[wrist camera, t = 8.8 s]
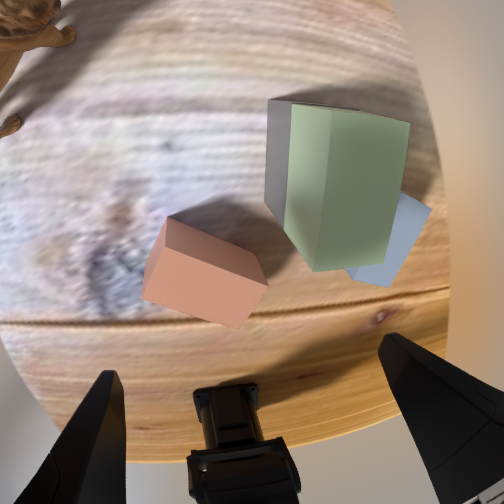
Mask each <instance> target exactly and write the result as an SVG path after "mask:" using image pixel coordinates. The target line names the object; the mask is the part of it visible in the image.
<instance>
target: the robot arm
mask: <svg viewBox="0 0 504 504" xmlns="http://www.w3.org/2000/svg"><path fill="white" fill-rule="evenodd" d="M378 356H379V359H380V362H381V364H382V367H383V370H384V372H385V375H386V378H387V381H388V384H389V386H390V389H391V391H392V393H393V395H394V398H395V400H396V402H397V404H398V406H399V408H400V410H401V412H402V415H403V417H404V419H405V421H406V423H407V425H408V427H409V430H410V432H411V434H412V437H413V439H414V441H415V444H416V446H417V448H418V450H419V453H420V455H421V458H422V460H423V462H424V465H425V467H426V469H427V472H428V473H429V474H428V475H429V477H430V480H431V482H432V484H433V487H434V489H435V492H436V495H437V497H438V500H439V503H440V504H463V503H464V502H466V501H468V500H470V499H472V498H473V497H475V496H477V498H476V499H475V500H474V501H473V502H471V503H470V504H504V392H503V391H501V390H498V389H496V388H494V387H492V386H490V385H488V384H486V383H484V382H482V381H480V380H479V379H477V378H475V377H473V376H472V375H469V374H468V373H466V372H465V371H463V370H461V369H459V368H458V367H456V366H454V365H452V364H451V363H449V362H447V361H445V360H444V359H442V358H440V357H438V356H437V355H435V354H433V353H431V352H430V351H428V350H426V349H424V348H423V347H421V346H419V345H417V344H416V343H414V342H412V341H410V340H409V339H407V338H405V337H403V336H402V335H400V334H398V333H396V332H392V333H388V334H386V335H385V336H384V337H383V340H382V342H381V344H380V347H379V349H378ZM257 398H258V386H257V384H255V383H252V384H246V385H239V386H232V387H225V388H217V389H209V390H200V391H195V392H193V399H194V403H195V407H196V411H197V415H198V418H199V422H200V423H202V426H203V432H204V439H205V445H206V450H191V455H190V456H188V457H186V458H187V465H188V481H189V494H190V496H191V497H192V498H194V499H195V500H196V502H197V504H299V500H298V496H297V494H298V493H300V492H301V482H300V477H299V474H298V471H297V468H296V466H295V463H294V461H293V459H292V457H291V455H290V453H289V451H288V449H287V446H286V444H285V442H284V440H283V438H282V436H281V437H277V438H276V439H271V440H266V441H265V440H264V437H263V433H262V430H261V426H260V423H259V419H258V416H257ZM205 469H206V470H207V471H204V472H203V470H205ZM14 504H126V423H125V407H124V390H123V386H122V383H121V381H120V379H119V376H118V374H117V372H116V371H115V370H104V371H102V372H101V374H100V375H99V377H98V378H97V380H96V381H95V382H94V384H93V385H92V387H91V388H90V390H89V391H88V393H87V394H86V396H85V397H84V399H83V400H82V402H81V403H80V405H79V406H78V408H77V409H76V411H75V413H74V414H73V416H72V417H71V419H70V420H69V422H68V423H67V425H66V426H65V428H64V430H63V431H62V433H61V434H60V436H59V438H58V439H57V441H56V442H55V444H54V446H53V447H52V449H51V451H50V453H49V454H48V455H47V457H46V459H45V460H44V462H43V463H42V465H41V467H40V468H39V470H38V471H37V473H36V474H35V476H34V477H33V478H32V480H31V481H30V483H29V484H28V485H27V487H26V488H25V489H24V490H23V492H22V493H21V494H20V496H19V497H18V498H17V500H16V501H15V502H14Z"/></svg>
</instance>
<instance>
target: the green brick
mask: <svg viewBox="0 0 504 504" xmlns="http://www.w3.org/2000/svg"><path fill="white" fill-rule="evenodd" d="M410 124H411V123H409V122H405V121H401V120H397V119H393V118H389V117H384V116H380V115H376V114H371V113H366V112H361V111H355V110H348V109H340V108H331V107H322V106H311V105H299V104H292V108H291V128H290V145H289V162H288V177H287V192H286V206H285V219H284V231H285V233H286V234H287V235H288V237H289V238H290V240H291V241H292V243H293V244H294V245H295V247H296V248H297V250H298V251H299V253H300V254H301V255H302V257H303V258H304V260H305V261H306V263H307V264H308V266H309V267H310V269H311V270H312V271H313V272H321V271H329V270H337V269H345V268H353V267H360V266H368V265H375V264H383V263H384V259H385V255H386V251H387V248H388V244H389V240H390V236H391V231H392V227H393V223H394V218H395V214H396V209H397V204H398V200H399V195H400V189H401V184H402V179H403V173H404V167H405V161H406V154H407V147H408V140H409V132H410Z"/></svg>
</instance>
